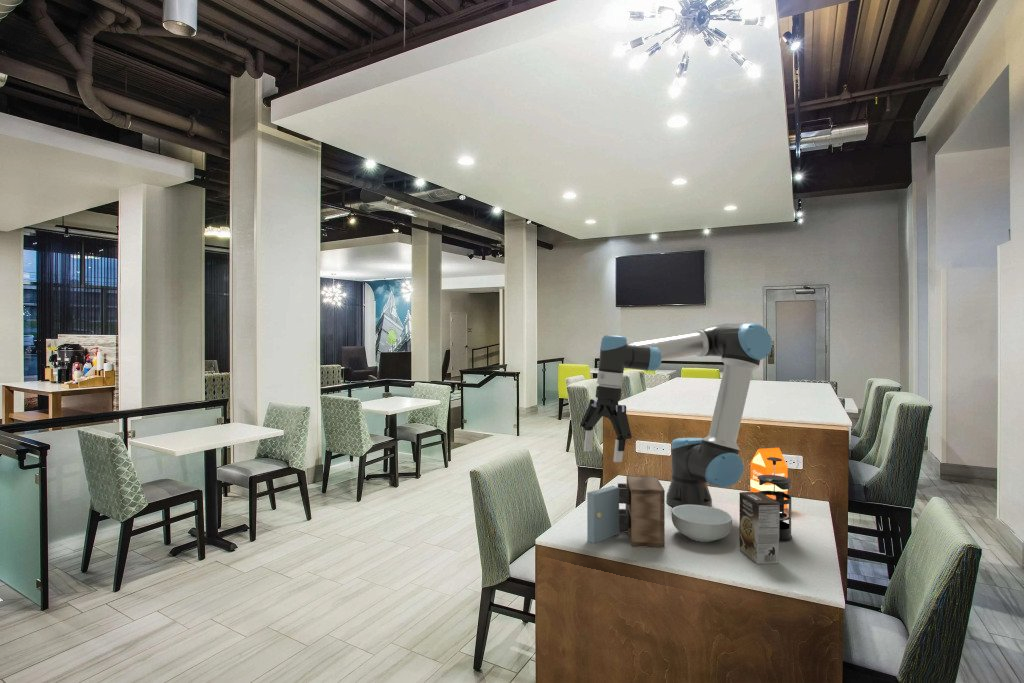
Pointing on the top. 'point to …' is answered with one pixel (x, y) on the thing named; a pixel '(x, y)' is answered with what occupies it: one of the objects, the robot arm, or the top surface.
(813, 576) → the top surface
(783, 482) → the french press
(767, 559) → the coffee box
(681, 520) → the cereal bowl
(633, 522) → the cabinet
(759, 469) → the orange juice
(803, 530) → the top surface
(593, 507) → the door
